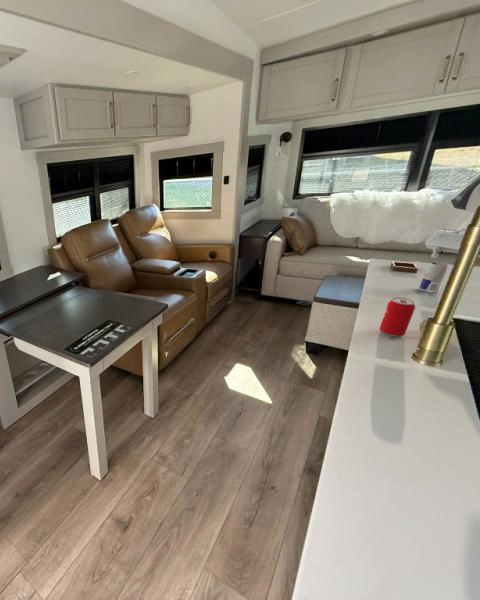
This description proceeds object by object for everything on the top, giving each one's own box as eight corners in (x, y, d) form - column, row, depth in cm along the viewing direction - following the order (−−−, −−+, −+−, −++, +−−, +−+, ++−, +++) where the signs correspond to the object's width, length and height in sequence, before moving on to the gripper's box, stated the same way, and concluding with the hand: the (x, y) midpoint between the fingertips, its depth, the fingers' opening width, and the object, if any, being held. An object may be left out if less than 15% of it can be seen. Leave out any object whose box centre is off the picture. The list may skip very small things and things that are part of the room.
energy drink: (419, 287, 134) (430, 260, 129) (437, 290, 130) (449, 262, 125) (417, 291, 131) (428, 263, 126) (436, 294, 127) (448, 266, 122)
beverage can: (401, 330, 106) (413, 298, 101) (406, 339, 101) (420, 306, 96) (376, 327, 109) (387, 295, 104) (380, 335, 104) (392, 303, 99)
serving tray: (413, 267, 153) (414, 263, 153) (416, 272, 147) (418, 268, 147) (390, 265, 158) (391, 261, 157) (392, 270, 152) (394, 266, 151)
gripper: (436, 223, 134) (414, 250, 135) (510, 232, 116) (484, 262, 117) (438, 232, 137) (417, 258, 138) (511, 242, 119) (485, 271, 120)
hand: (448, 260), depth 127 cm, fingers open, 8 cm apart
